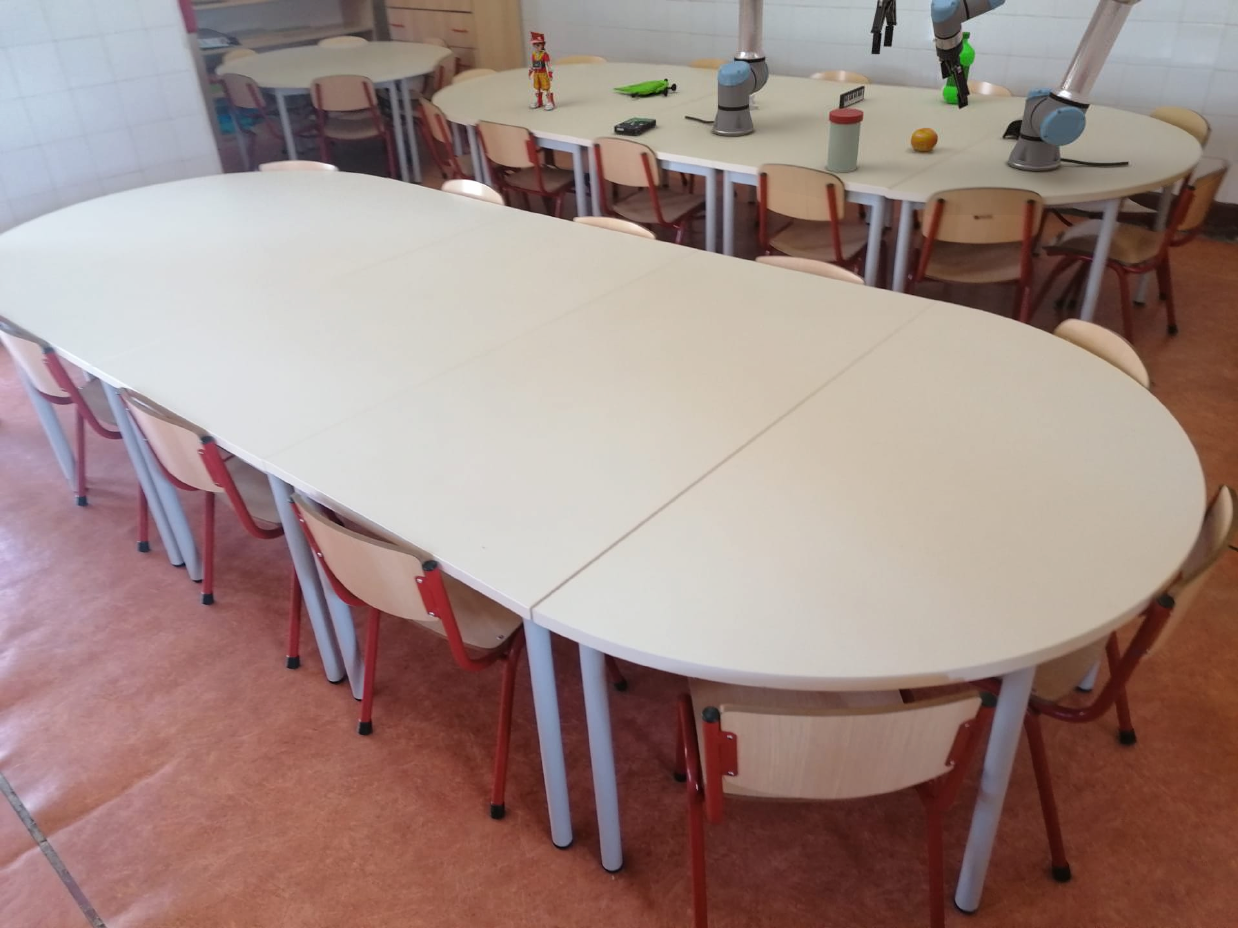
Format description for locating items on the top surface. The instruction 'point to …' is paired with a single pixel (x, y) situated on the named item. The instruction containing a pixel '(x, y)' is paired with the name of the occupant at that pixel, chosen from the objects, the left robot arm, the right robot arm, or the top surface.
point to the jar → (843, 147)
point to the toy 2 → (648, 88)
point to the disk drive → (635, 126)
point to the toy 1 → (541, 71)
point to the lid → (846, 116)
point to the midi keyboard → (851, 96)
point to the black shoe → (1014, 128)
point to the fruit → (924, 139)
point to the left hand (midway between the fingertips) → (881, 50)
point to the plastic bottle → (966, 60)
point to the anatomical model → (751, 104)
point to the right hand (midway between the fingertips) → (955, 91)
